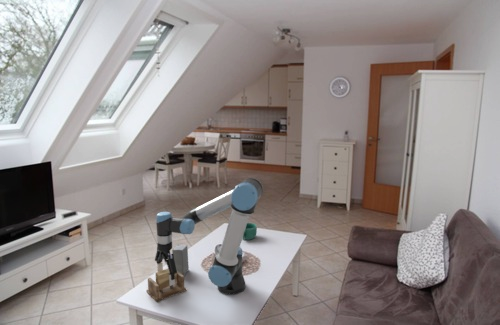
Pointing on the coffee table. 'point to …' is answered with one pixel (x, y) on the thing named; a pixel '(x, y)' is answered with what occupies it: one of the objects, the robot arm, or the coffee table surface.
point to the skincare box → (181, 258)
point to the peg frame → (165, 292)
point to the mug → (250, 231)
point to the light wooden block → (164, 278)
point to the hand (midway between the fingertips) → (166, 279)
